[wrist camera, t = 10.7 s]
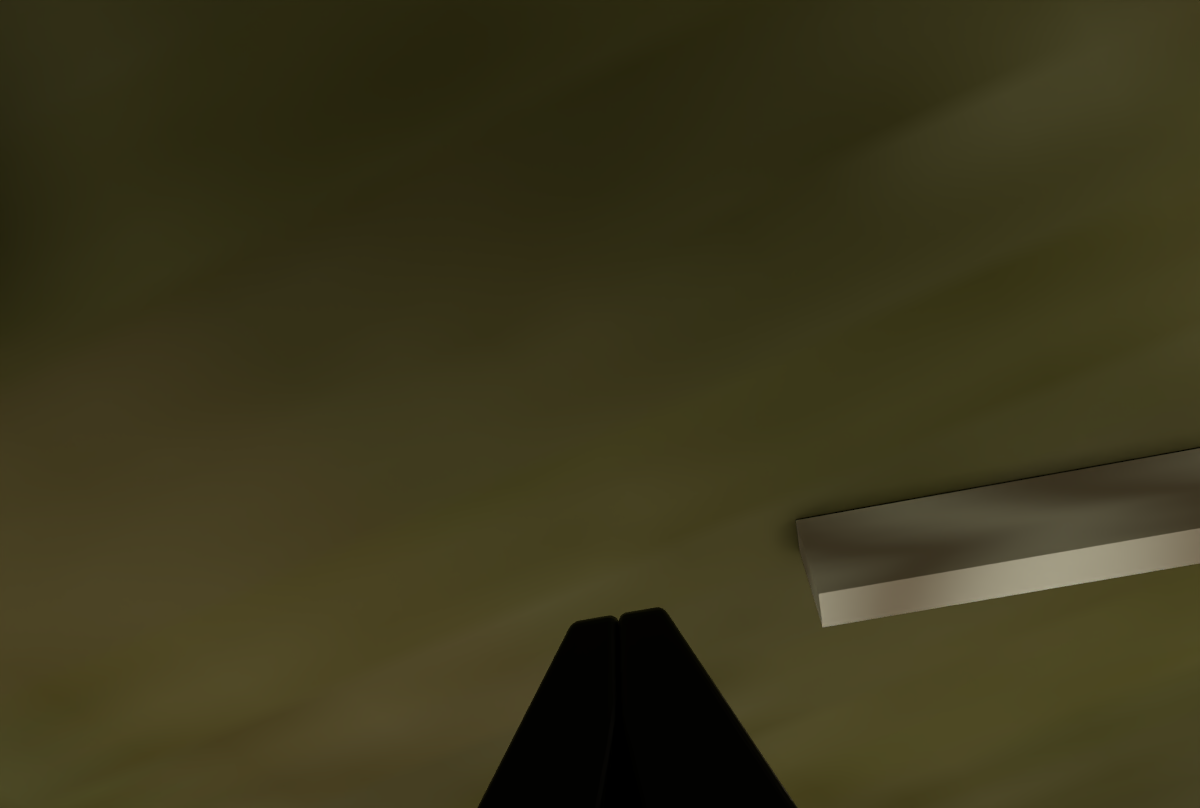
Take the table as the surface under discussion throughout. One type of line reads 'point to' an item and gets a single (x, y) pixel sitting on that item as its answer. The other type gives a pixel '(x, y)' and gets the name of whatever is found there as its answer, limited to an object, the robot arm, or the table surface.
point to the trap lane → (1004, 539)
